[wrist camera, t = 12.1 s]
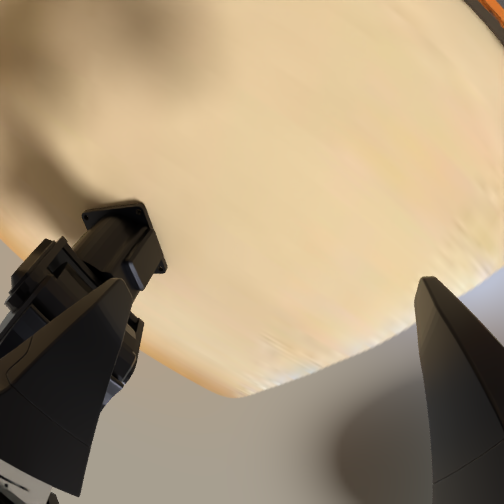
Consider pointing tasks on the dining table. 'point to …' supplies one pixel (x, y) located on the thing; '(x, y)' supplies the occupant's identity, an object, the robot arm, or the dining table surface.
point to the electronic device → (490, 14)
